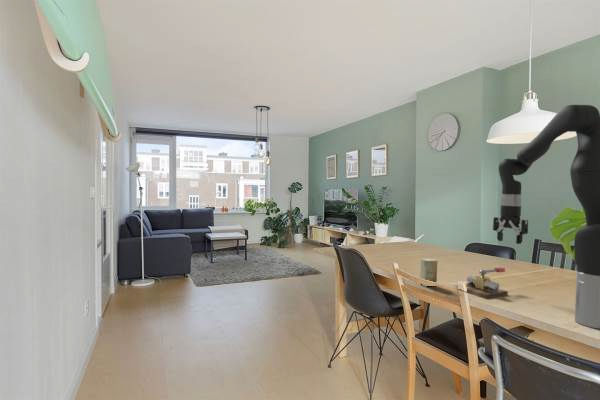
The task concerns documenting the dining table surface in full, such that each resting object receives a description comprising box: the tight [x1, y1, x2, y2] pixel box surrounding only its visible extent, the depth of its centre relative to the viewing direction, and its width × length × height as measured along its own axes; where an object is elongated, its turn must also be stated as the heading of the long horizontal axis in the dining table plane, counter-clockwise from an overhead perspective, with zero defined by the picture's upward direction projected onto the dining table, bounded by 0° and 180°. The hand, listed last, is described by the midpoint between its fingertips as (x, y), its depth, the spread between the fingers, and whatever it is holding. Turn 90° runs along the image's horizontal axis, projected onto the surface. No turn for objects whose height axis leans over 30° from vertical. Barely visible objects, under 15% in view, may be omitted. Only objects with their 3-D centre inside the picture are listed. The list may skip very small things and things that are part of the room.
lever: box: [478, 266, 506, 275], centre depth 147 cm, size 14×3×2 cm, turn 114°
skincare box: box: [419, 258, 438, 288], centre depth 155 cm, size 6×4×12 cm
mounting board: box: [465, 284, 509, 299], centre depth 146 cm, size 14×14×2 cm
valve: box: [466, 274, 500, 294], centre depth 145 cm, size 13×4×7 cm, turn 24°
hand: (509, 242), depth 145 cm, fingers open, 7 cm apart
